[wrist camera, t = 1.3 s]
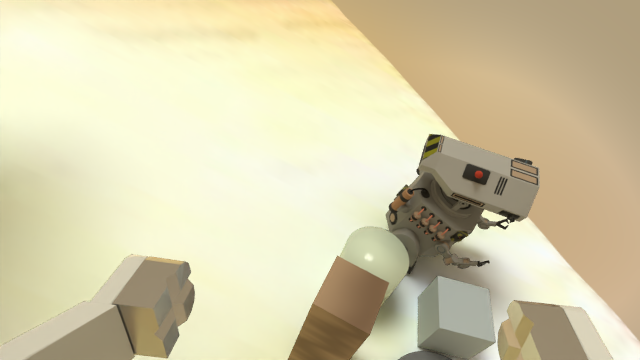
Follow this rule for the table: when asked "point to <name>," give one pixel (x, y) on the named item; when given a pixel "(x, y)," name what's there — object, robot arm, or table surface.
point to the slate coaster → (424, 356)
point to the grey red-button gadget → (458, 197)
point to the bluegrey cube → (455, 318)
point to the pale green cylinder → (378, 255)
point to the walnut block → (340, 314)
